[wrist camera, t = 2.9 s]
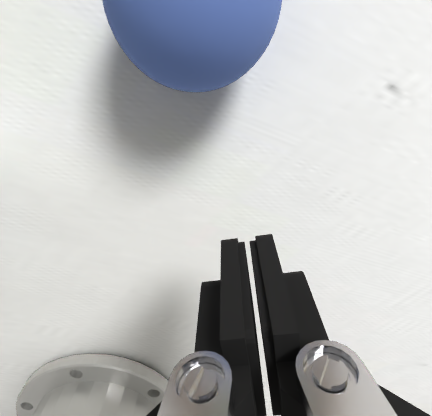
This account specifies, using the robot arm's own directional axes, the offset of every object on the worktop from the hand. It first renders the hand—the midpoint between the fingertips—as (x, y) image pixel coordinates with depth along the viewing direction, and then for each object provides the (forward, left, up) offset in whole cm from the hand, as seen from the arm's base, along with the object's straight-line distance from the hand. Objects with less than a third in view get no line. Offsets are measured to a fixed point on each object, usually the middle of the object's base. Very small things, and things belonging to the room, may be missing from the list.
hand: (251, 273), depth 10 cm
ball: (+9, +1, -4) cm, 10 cm away
